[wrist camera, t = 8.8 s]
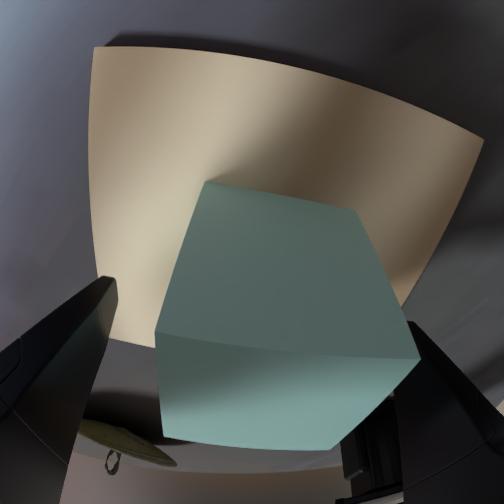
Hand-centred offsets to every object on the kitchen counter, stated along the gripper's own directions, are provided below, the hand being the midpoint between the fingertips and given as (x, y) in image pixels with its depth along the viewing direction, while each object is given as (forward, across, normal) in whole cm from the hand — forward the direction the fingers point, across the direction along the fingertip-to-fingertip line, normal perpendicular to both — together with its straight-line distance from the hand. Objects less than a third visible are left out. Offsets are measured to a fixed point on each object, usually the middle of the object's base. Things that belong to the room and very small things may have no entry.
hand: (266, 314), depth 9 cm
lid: (+4, +8, +20) cm, 22 cm away
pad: (+3, 0, 0) cm, 3 cm away
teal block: (+3, 0, 0) cm, 3 cm away
